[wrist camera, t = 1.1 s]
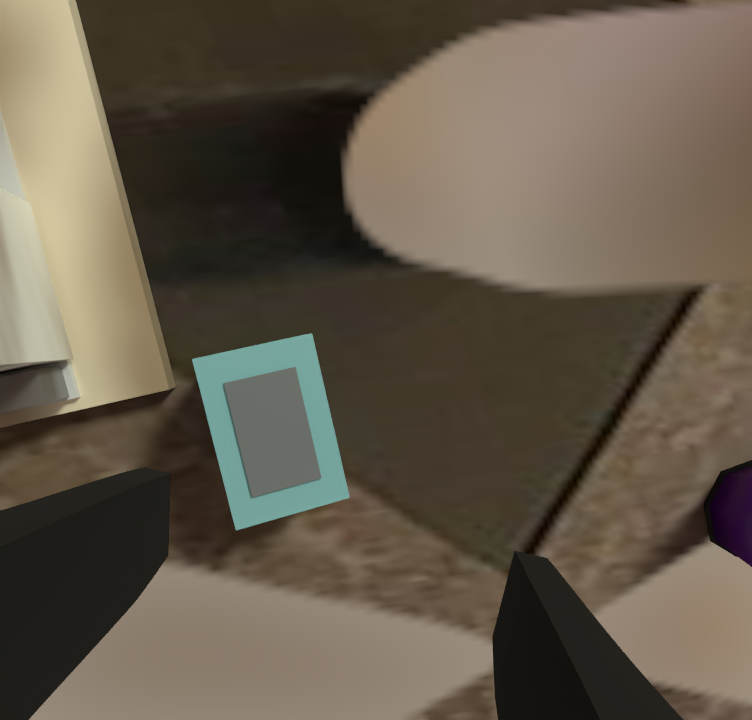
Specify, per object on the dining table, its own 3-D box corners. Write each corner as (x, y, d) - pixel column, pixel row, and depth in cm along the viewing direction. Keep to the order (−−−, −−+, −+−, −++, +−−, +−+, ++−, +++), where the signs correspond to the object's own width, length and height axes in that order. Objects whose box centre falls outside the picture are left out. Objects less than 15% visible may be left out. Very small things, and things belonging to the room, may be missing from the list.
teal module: (250, 483, 20) (235, 532, 15) (218, 354, 19) (191, 359, 14) (335, 459, 20) (350, 498, 15) (307, 334, 20) (312, 333, 15)
